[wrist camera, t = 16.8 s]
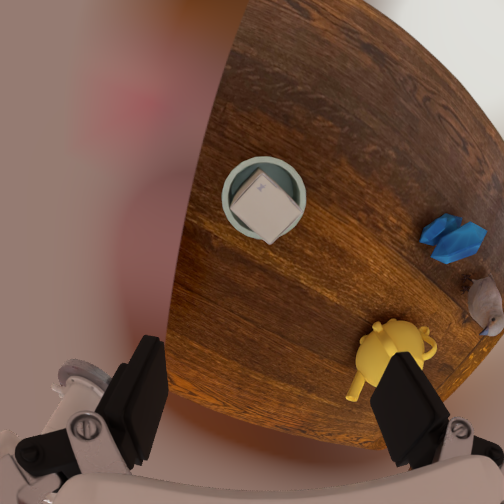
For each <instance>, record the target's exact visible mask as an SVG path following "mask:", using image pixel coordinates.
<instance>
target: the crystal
mask: <svg viewBox="0 0 504 504" xmlns="http://www.w3.org/2000/svg"><path fill="white" fill-rule="evenodd" d="M461 221H462V218H461V217H457V216H454V215H450V214H444V215H443V216H441V217H440V218H438V219H435V220H434V221H433V222H432V223H431V224H429V225H427V226H426V227H424V228H423V231H422V234H421V237H420V240H419V242H421V243H425V244H428V245H432V246H434V245H436V244H437V245H436V247H435V249H434V251H433V253H432V255H431V257H432V258H434V259H436V260H438V261H440V262H443V263H445V264H448V263H451V262H454V261H457V260H459V259H462V258H465V257H468V256H471V255H473V254H476V252H477V250H478V249H479V247H480V245H481V243H482V241H483V239H484V237H485V235H486V233H487V231H486V230H485V229H483V228H481V227H479V226H478V225H476V224H474V223H472V222H468V223H466V224H464V225H463V226H461V227H460V225H461Z"/></svg>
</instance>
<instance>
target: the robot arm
mask: <svg viewBox="0 0 504 504" xmlns="http://www.w3.org/2000/svg"><path fill="white" fill-rule="evenodd" d="M51 388H52V390H53V391H55V392H58V393H59V397H60V398H62V400H61V402H60V403H59V405H58V407H57V408H56V410H55V411H54V413H53V415H52V416H51V418H50V420H49V421H48V423H47V424H46V426H45V428H44V429H43V431H42V433H41V435H38V436H33V437H29V438H26V439H23V440H22V439H21V438H20V437H19V436H17V435H16V434H15V433H13V432H12V431H10V430H3V431H1V432H0V504H42V503H41V502H42V501H43V500H44V501H46V502H48V503H50V504H504V453H503V451H502V449H501V447H500V446H499V445H497V444H495V443H492V442H490V441H487V440H485V439H482V438H479V437H477V436H474V429H473V426H472V424H471V423H470V422H469V421H468V420H467V419H465V418H463V417H454V418H452V419H451V420H450V421H449V420H448V417H449V416H450V413H449V412H448V410H447V409H446V407H445V405H444V404H443V402H442V400H441V399H440V397H439V396H438V394H437V393H436V391H435V389H434V388H433V386H432V385H431V383H430V382H429V380H428V379H427V377H426V376H425V374H424V373H423V371H422V370H421V368H420V367H419V365H418V364H417V362H416V361H415V359H414V358H413V356H412V355H411V353H410V352H408V351H405V352H396V353H395V354H394V356H392V357H391V359H390V361H389V363H388V365H387V367H386V369H385V371H384V373H383V375H382V377H381V379H380V381H379V383H378V385H377V387H376V389H375V391H374V393H373V395H372V397H371V399H370V404H371V407H372V410H373V412H374V415H375V417H376V420H377V422H378V425H379V427H380V430H381V432H382V435H383V438H384V440H385V443H386V446H387V448H388V451H389V454H390V456H391V459H392V461H394V462H395V463H396V466H397V467H400V466H403V465H407V464H408V463H409V464H410V468H409V471H407V472H404V473H400V474H397V475H393V476H389V477H385V478H381V479H376V480H371V481H366V482H361V483H355V484H350V485H343V486H336V487H329V488H319V489H308V490H292V491H247V490H230V489H219V488H210V487H201V486H193V485H186V484H180V483H175V482H169V481H164V480H158V479H152V478H147V477H143V476H136V475H132V474H131V472H130V470H131V469H133V467H134V464H136V465H140V466H142V462H143V460H148V458H149V454H150V452H151V448H152V445H153V441H154V438H155V434H156V432H157V428H158V425H159V422H160V419H161V415H162V412H163V409H164V405H165V402H166V399H167V396H168V380H167V371H166V361H165V350H164V342H162V341H160V340H159V338H158V337H154V336H148V335H144V336H143V338H142V339H141V341H140V343H139V345H138V347H137V349H136V350H135V352H134V354H133V356H132V358H131V359H130V361H129V363H128V364H126V363H122V364H120V366H119V367H118V369H117V371H116V373H115V374H114V376H113V378H112V380H111V381H110V383H109V385H108V387H107V389H106V391H105V392H104V391H103V390H102V389H101V388H100V387H99V386H97V385H96V384H95V383H93V382H92V381H90V380H88V379H86V378H84V377H81V376H70V377H69V378H68V379H67V381H66V387H64V386H63V387H61V386H59V385H57V384H54V383H53V384H52V386H51Z"/></svg>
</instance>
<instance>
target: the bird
mask: <svg viewBox="0 0 504 504" xmlns="http://www.w3.org/2000/svg"><path fill="white" fill-rule="evenodd" d="M490 274H491V272H490ZM462 275H463V274H462ZM488 275H489V274H488ZM463 276H464V278H463V279H465V280H464V282H465V281H466V279H469V280H470V281H472V282H473V285H472V286H471V288H470V290H468V288H469V287H470V286H469V287H466V286H465V287H463V286H462V287H463V288H464V289H463V290H460V291H464V292H465V290H467V291H468V292H469V293H468V308H469V312H470V314H471V317H472V318H473V319H474V320H475V321H477V322H478V323H479V325H480V326H481V327H482V328H483V329H484V330H483V331H482V332H481V333H480V334H479V335H488V336H495V335H497V334H499V333H500V332H501V330H502V329H503V328H504V315H503V311H502V299H501V296H500V293H499V291H498V289H497V288H496V284H495V281H494V278H492V277H493V275H492V274H491V275H490V276H489V277H486V278H484V279H479V280H474V279H470V278H468V277H470V276H471V275H463ZM463 279H462V280H463ZM464 282H463V283H464ZM464 292H463V293H464ZM463 293H462V294H463ZM462 294H461V295H462Z"/></svg>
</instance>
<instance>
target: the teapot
mask: <svg viewBox="0 0 504 504" xmlns="http://www.w3.org/2000/svg"><path fill="white" fill-rule="evenodd" d="M372 327H373V329H374V330H373V331H372V332H371V333H370V334H369V335H365V336H363V337H362V338H361V339H360V344H361V345H360V347H359V349H358V351H357V355H356V367H357V369H358V370H357V373H356V375H355V377H354V380H353V382H352V384H351V387H350V389H349V391H348V393H347V395H346V399H348V400H350V401H357V399H358V397H359V395H360V392H361V390H362V387H363V385H364V382H365V380H366V381H367V382H368V383H369V384H371V385H373V386H375V387H377V385H378V383H379V381H380V379H381V377H382V375H383V373H384V371H385V369H386V367H387V365H388V363H389V361H390V359H391V357H392V356H394V354H395V353H396V352H405V351H408V352H410V353H411V355H412V356H413V358H414V359H415V361H416V362H417V364H418V365H419V367H420V368H421V370H422V368H423V364H424V360H427V359H429V358H431V357H432V356H433V355H434V354H435V352H436V350H437V344H436V342H435V341H434V340H433V339H432V338H431V337H429V336H428V335H429V333H430V330H429V328H428V327H426V326H423V327H421V328H419V330H418V329H417V327H416V326H415V325H413V324H412V323H410V322H407V321H397V320H396V319H390V320H389V321H388V322H387V323H386V324H383V325H381V323H380V322H379V321H378V322H375V323H374V324H373V326H372ZM425 332H426V333H425ZM423 340H424V341H426V342H427V343H429V344H430V345H431V346H432V347H433V348H432V349H431V350H430V351H429V352H427V353H424V343H423Z"/></svg>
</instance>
